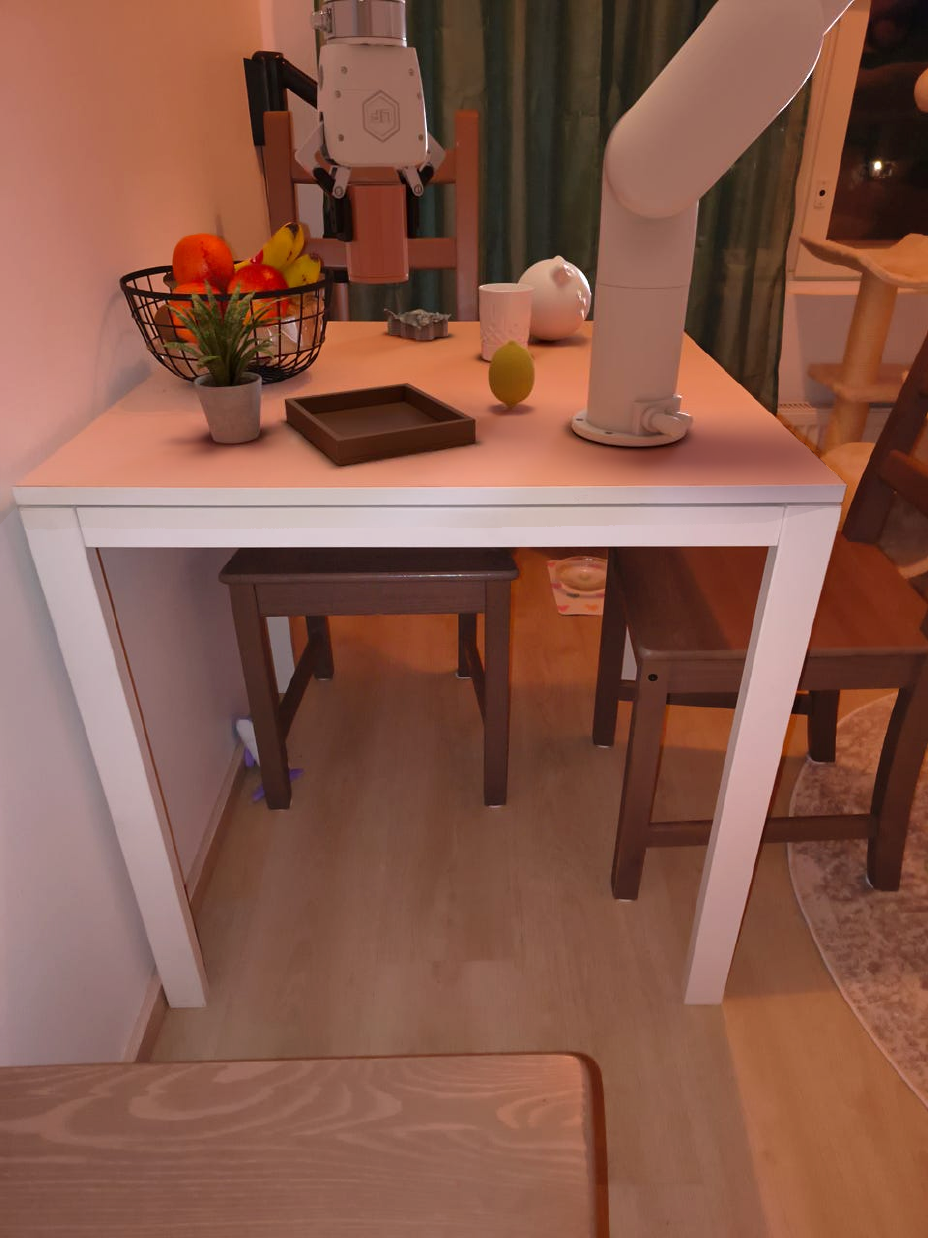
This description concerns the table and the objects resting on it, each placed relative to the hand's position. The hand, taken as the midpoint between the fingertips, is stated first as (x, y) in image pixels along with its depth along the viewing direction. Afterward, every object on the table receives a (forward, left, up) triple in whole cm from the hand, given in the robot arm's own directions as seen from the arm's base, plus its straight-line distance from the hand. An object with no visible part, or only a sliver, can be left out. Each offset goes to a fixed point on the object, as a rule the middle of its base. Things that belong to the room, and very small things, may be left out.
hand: (376, 237), depth 86 cm
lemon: (-2, -16, -20) cm, 25 cm away
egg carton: (+44, -25, -20) cm, 54 cm away
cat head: (+30, -42, -20) cm, 55 cm away
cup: (0, 0, -4) cm, 4 cm away
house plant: (+2, +17, -20) cm, 26 cm away
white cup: (+22, -29, -20) cm, 41 cm away
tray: (-3, +2, -20) cm, 20 cm away
